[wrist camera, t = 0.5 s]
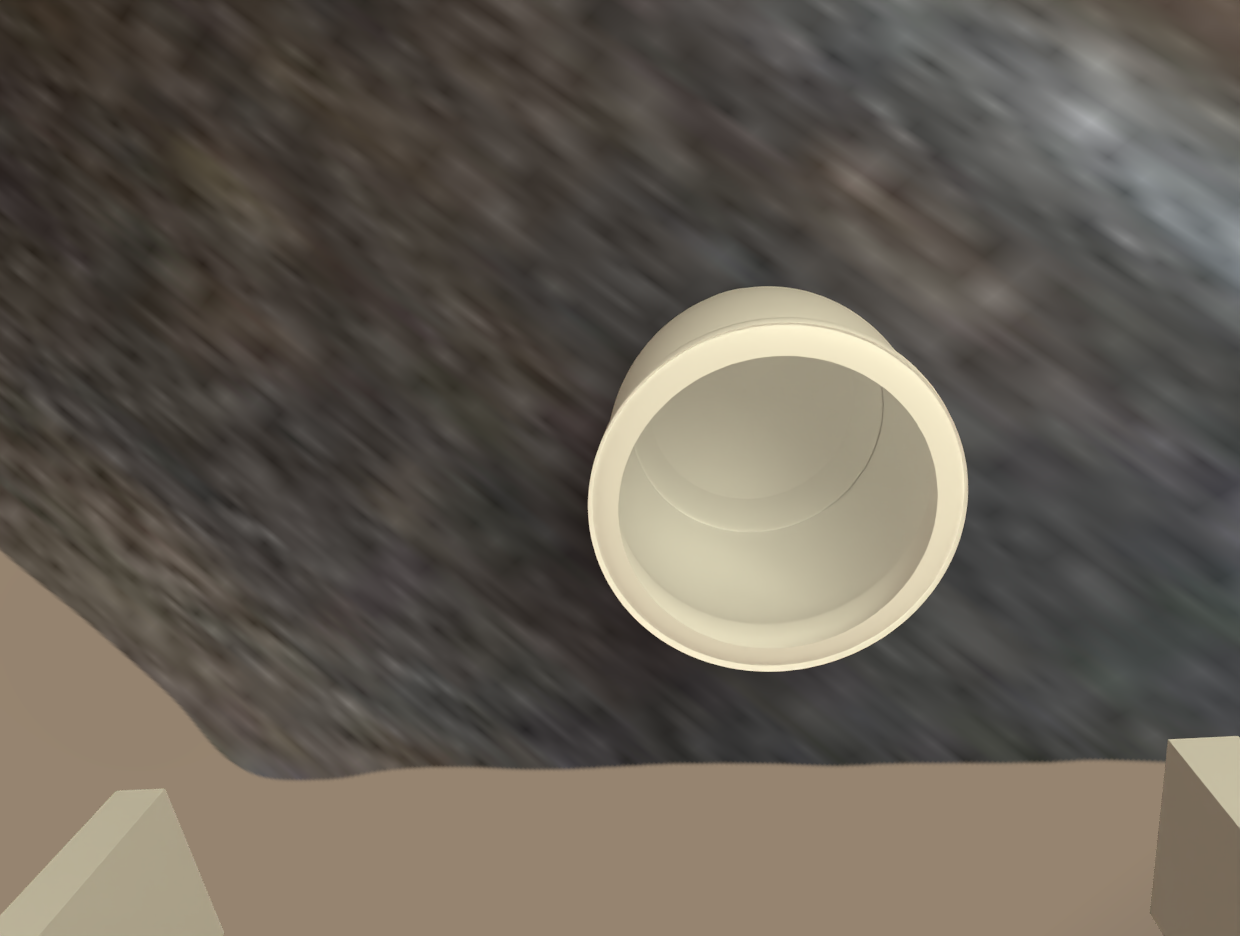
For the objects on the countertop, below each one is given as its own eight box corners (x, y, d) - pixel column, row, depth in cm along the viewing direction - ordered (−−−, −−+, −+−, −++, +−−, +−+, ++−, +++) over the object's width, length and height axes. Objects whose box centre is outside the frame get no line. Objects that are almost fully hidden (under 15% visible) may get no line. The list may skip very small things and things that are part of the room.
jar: (758, 533, 39) (789, 736, 25) (584, 402, 38) (513, 537, 23) (918, 361, 35) (1060, 482, 21) (733, 209, 34) (755, 233, 20)
